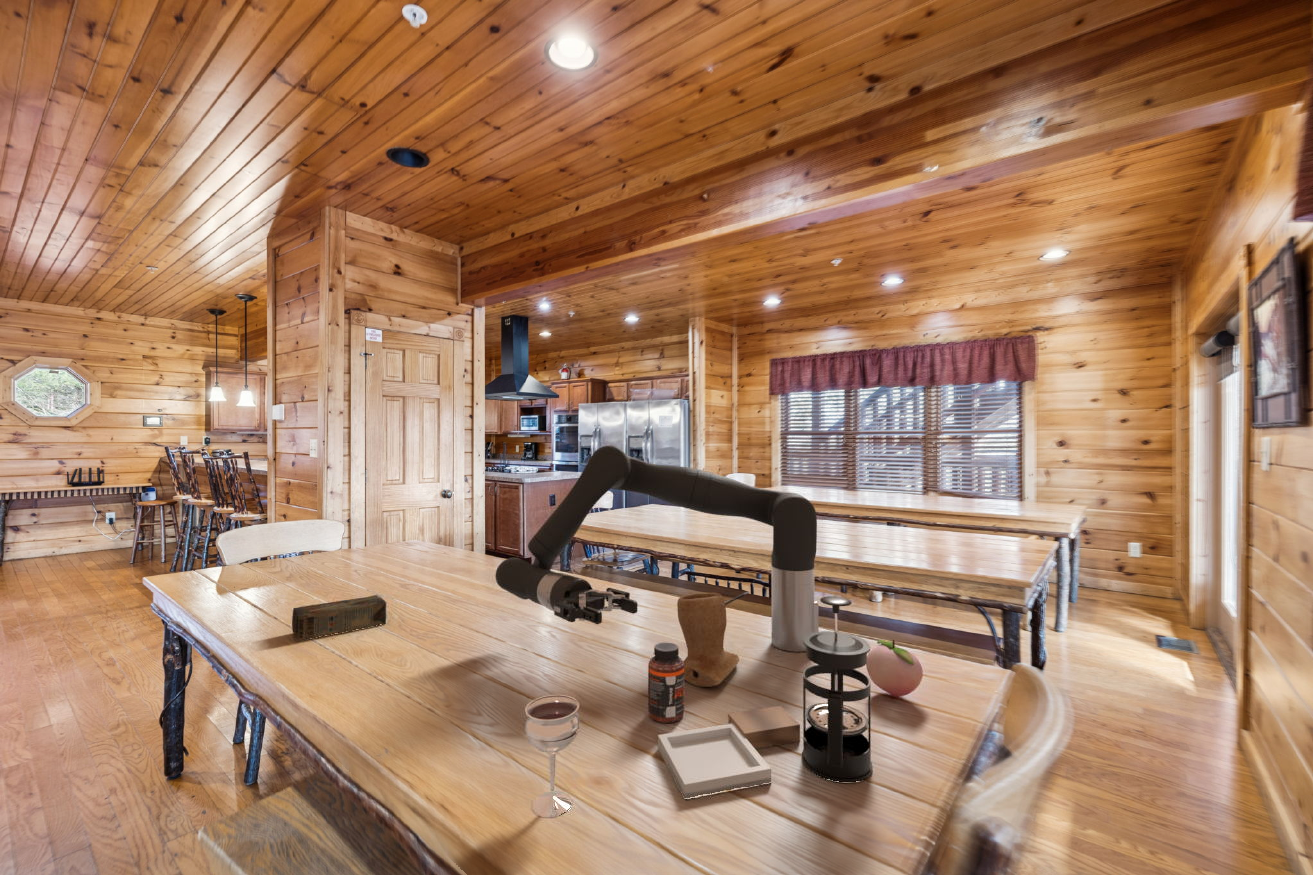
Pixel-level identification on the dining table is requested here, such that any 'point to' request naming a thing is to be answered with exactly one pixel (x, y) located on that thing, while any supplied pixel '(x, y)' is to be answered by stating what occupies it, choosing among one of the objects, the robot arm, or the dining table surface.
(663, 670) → the supplement bottle
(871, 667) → the decorative fruit
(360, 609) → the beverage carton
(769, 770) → the tray
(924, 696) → the dining table surface
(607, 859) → the dining table surface
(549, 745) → the wineglass
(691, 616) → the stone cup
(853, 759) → the french press
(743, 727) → the brown block
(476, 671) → the dining table surface
